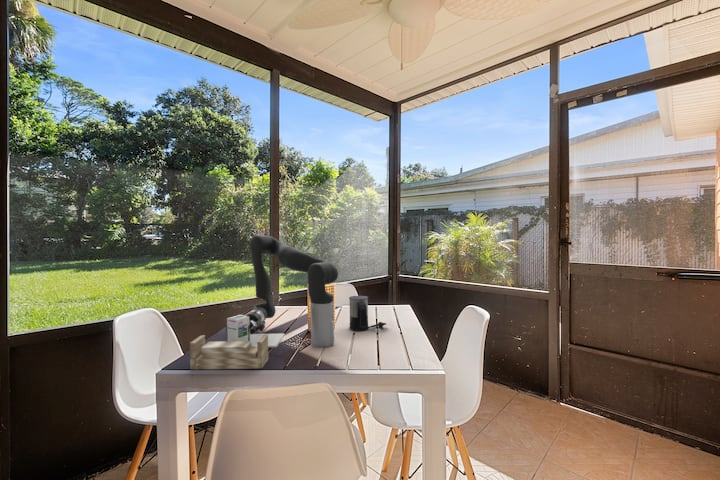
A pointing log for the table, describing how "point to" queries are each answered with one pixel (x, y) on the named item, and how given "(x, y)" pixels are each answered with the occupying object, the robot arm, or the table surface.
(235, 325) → the syrup box
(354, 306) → the milk frother
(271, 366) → the table surface
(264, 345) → the offcut rack
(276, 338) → the white mat
